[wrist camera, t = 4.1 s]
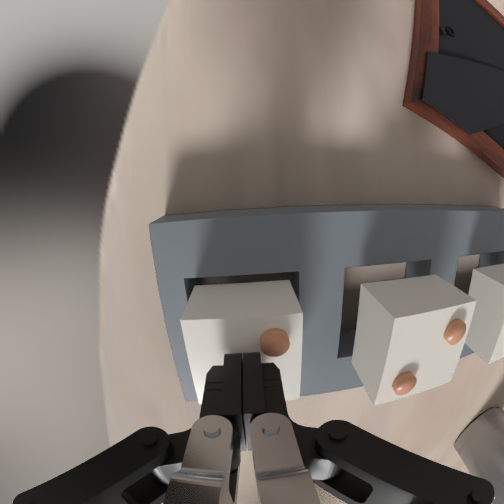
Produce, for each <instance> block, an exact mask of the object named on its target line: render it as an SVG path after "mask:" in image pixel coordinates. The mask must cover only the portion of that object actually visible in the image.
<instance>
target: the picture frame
mask: <svg viewBox="0 0 504 504" xmlns="http://www.w3.org/2000/svg"><path fill="white" fill-rule="evenodd" d="M402 106H404V107H406V108H407V109H409V110H411V111H413V112H414V113H416V114H418V115H419V116H421V117H423V118H424V119H426V120H428V121H429V122H431V123H432V124H434V125H435V126H437V127H438V128H440V129H441V130H443V131H444V132H446V133H447V134H449V135H450V136H452V137H453V138H455V139H456V140H457V141H459V142H460V143H461V144H463V145H464V146H466V147H467V148H468V149H469V150H471V151H472V152H473V153H475V154H476V155H477V156H478V157H480V158H481V159H482V160H483V161H485V162H486V163H487V164H488V165H489V166H491V167H492V168H493V169H494V170H495V171H496V172H497V173H499V174H500V175H501V176H502V177H503V178H504V16H503V15H502V14H501V13H500V12H499V11H498V10H496V9H495V8H494V7H493V6H492V5H491V4H490V3H489V2H488V1H487V0H415V15H414V28H413V39H412V48H411V56H410V64H409V71H408V77H407V83H406V89H405V95H404V100H403V105H402Z"/></svg>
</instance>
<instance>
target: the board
mask: <svg viewBox="0 0 504 504" xmlns="http://www.w3.org/2000/svg"><path fill="white" fill-rule="evenodd" d="M149 230H150V238H151V245H152V252H153V259H154V265H155V271H156V277H157V283H158V289H159V294H160V299H161V304H162V309H163V314H164V319H165V324H166V328H167V333H168V337H169V341H170V346H171V350H172V354H173V358H174V362H175V366H176V370H177V373H178V377H179V381H180V384H181V388H182V391H183V395H184V398H185V401H191V402H198V398H197V394H196V390H195V386H194V382H193V378H192V373H191V369H190V365H189V360H188V356H187V351H186V346H185V342H184V337H183V332H182V327H181V322H180V319H181V317H182V314H183V312H184V310H185V307H186V305H187V303H188V300H189V298H190V295H191V293H192V291H193V288H194V286H195V285H196V278H202V277H220V276H237V275H253V274H268V273H282V272H291V285H292V287H293V290H294V292H295V295H296V297H297V299H298V302H299V304H300V307H301V309H302V312H303V336H302V363H301V383H300V396H307V395H315V394H321V393H328V392H334V391H340V390H346V389H351V388H356V387H361V386H364V385H363V383H362V382H361V380H360V378H359V376H358V374H357V372H356V370H355V368H354V366H353V364H352V362H351V361H352V355H353V348H354V341H355V334H356V330H352V331H345V332H340V327H341V316H342V304H343V290H344V271H345V268H347V267H358V266H370V265H381V264H391V263H402V262H407V263H406V272H405V278H413V277H421V276H428V275H435V274H436V275H437V276H439V277H441V278H442V279H444V280H445V281H447V282H449V283H450V284H452V285H453V286H454V282H455V276H456V270H457V264H458V257H459V256H467V255H476V254H480V260H479V266H478V268H481V267H487V266H493V265H498V264H504V209H502V208H498V207H491V206H470V205H436V204H354V205H317V206H292V207H272V208H254V209H238V210H224V211H211V212H198V213H187V214H176V215H165V216H163V217H161V218H159V219H157V220H155V221H153V222H151V223H150V224H149ZM472 353H475V352H474V351H473V350H472V349H471V348H469V347H468V346H467V345H466V344H465V343H464V346H463V349H462V352H461V355H460V358H462V357H464V356H467V355H470V354H472Z"/></svg>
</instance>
